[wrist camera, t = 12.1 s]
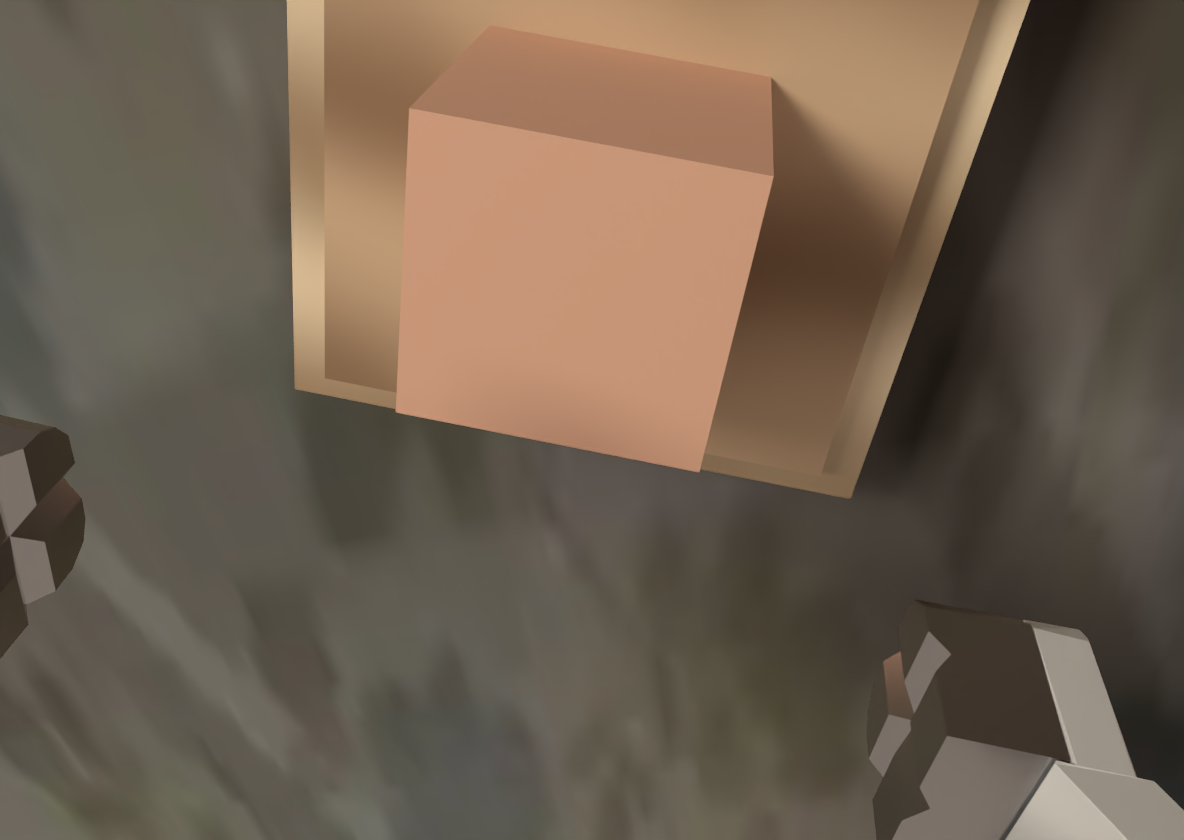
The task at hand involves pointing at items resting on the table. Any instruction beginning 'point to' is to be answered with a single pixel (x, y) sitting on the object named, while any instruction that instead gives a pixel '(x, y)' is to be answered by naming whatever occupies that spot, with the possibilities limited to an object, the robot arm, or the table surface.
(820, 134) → the plinth
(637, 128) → the cube
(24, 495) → the robot arm
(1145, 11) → the table surface
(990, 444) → the table surface
